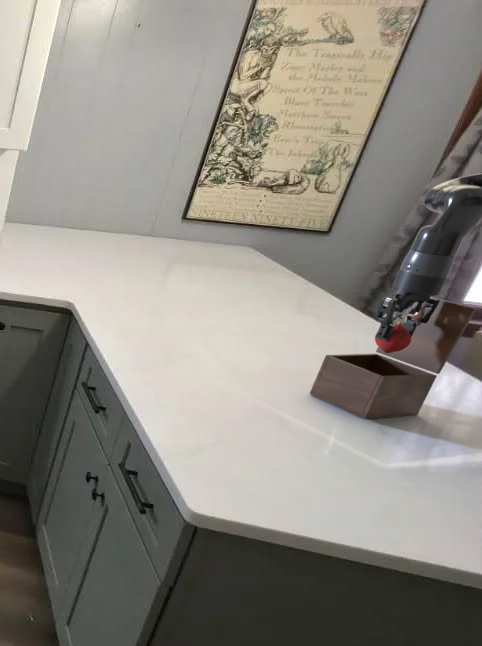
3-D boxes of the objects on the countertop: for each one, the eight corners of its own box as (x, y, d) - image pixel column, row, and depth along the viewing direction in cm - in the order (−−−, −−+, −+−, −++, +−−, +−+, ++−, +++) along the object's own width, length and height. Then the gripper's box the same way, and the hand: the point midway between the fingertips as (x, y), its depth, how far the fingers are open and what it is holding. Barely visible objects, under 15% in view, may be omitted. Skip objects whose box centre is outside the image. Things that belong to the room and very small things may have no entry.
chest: (365, 418, 148) (384, 377, 144) (309, 393, 160) (325, 354, 156) (416, 416, 151) (437, 375, 147) (358, 391, 162) (375, 353, 159)
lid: (474, 308, 141) (489, 309, 142) (408, 290, 153) (422, 292, 154) (436, 373, 147) (451, 374, 148) (375, 351, 158) (389, 352, 159)
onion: (409, 359, 147) (424, 328, 144) (378, 356, 149) (392, 325, 146) (394, 349, 152) (407, 319, 149) (364, 346, 154) (377, 316, 151)
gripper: (418, 276, 139) (386, 346, 144) (469, 276, 141) (435, 345, 147) (379, 266, 145) (350, 333, 151) (428, 266, 148) (397, 332, 154)
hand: (392, 339), depth 149 cm, fingers closed on onion, 6 cm apart
